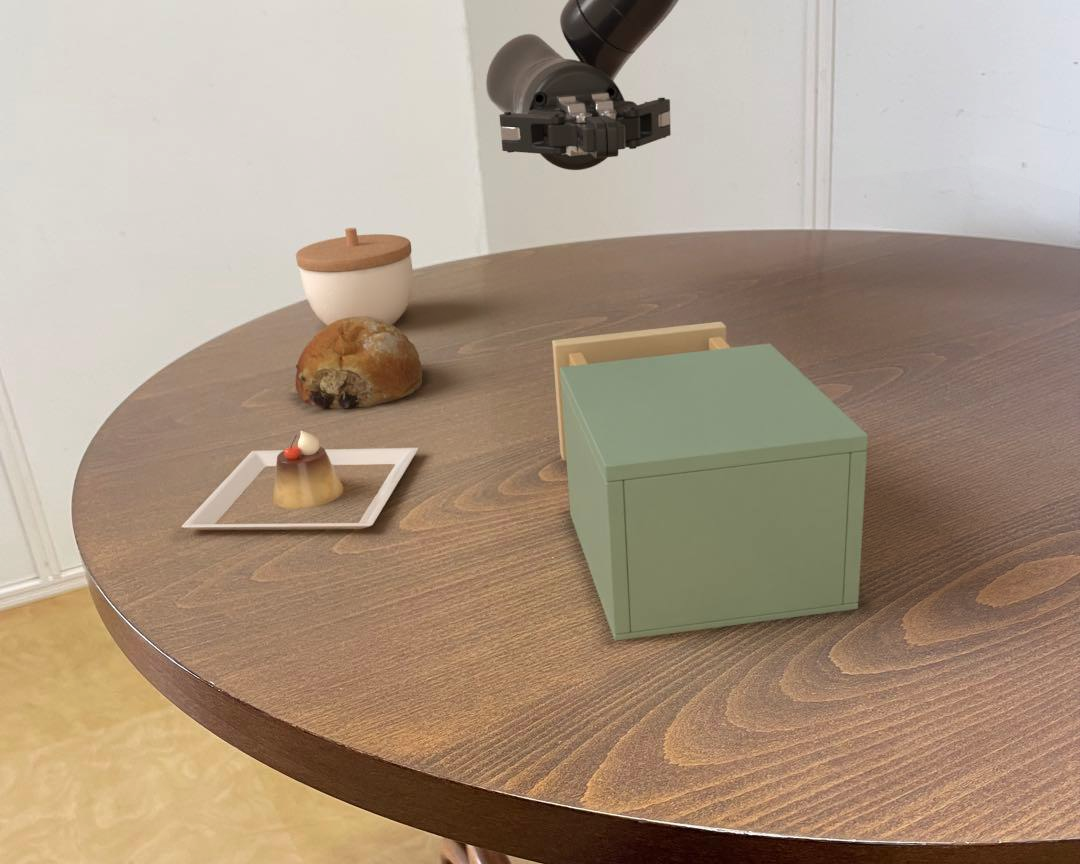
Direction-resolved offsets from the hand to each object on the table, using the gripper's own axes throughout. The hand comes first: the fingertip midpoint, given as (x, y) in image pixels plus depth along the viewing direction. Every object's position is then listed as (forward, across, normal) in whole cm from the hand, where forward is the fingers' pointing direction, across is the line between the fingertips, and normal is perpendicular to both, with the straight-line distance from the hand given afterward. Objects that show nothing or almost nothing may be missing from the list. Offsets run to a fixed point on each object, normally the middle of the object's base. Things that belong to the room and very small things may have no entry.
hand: (607, 140), depth 73 cm
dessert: (+8, -22, +20) cm, 30 cm away
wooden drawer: (+12, 0, +18) cm, 22 cm away
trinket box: (-32, -19, +20) cm, 42 cm away
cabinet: (+23, 0, +19) cm, 30 cm away
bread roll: (-12, -19, +20) cm, 30 cm away
